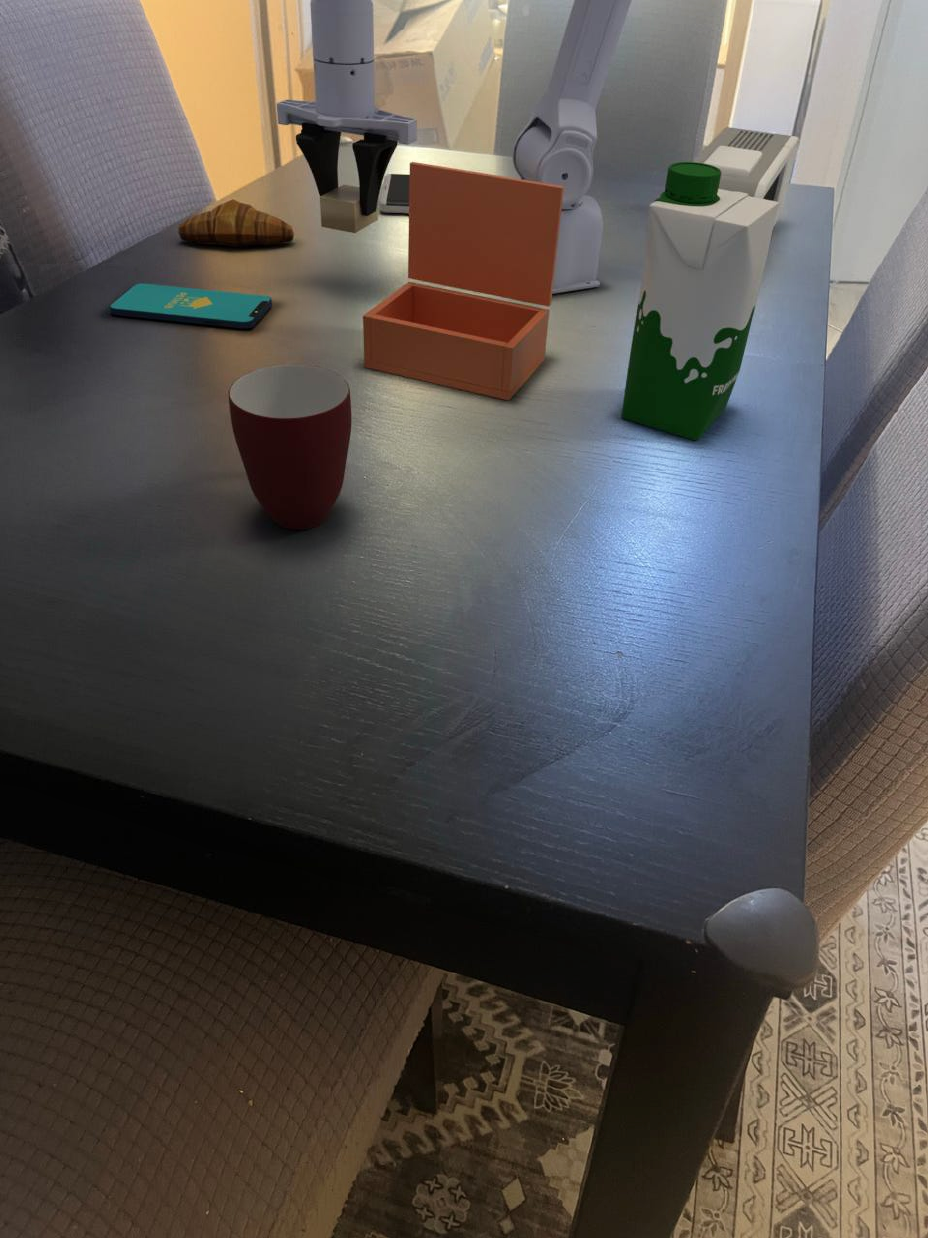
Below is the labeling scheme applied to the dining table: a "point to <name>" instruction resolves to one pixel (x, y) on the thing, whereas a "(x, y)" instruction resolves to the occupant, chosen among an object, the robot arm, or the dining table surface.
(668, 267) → the milk carton
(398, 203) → the tablet
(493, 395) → the case
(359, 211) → the block
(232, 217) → the croissant
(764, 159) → the alarm clock
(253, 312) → the smartphone
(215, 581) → the dining table surface
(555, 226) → the case cover
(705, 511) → the dining table surface
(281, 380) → the mug
